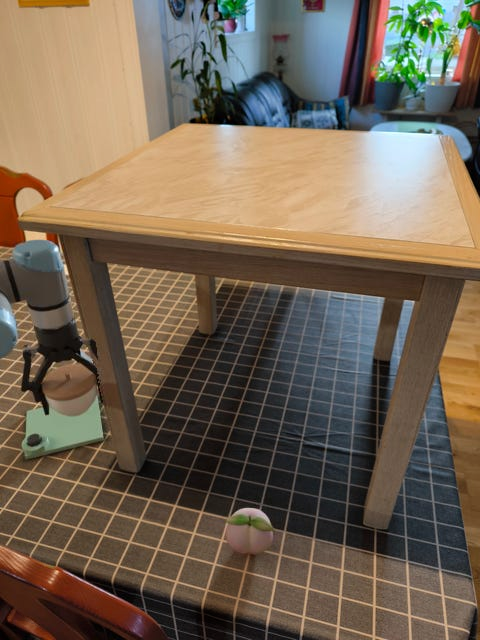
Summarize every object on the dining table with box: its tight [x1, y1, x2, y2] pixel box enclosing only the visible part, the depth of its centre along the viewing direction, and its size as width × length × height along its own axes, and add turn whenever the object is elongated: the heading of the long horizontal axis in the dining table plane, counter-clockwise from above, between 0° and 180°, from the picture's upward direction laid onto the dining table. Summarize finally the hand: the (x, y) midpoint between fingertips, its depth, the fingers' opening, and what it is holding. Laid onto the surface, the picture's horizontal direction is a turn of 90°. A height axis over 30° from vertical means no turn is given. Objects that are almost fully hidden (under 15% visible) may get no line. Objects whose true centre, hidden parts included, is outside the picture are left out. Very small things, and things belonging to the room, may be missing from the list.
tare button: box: [27, 434, 41, 447], centre depth 106 cm, size 3×3×2 cm
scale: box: [21, 395, 105, 460], centre depth 113 cm, size 18×16×4 cm
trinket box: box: [41, 363, 98, 417], centre depth 94 cm, size 11×11×9 cm
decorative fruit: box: [224, 507, 275, 556], centre depth 86 cm, size 9×8×10 cm
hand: (75, 405), depth 96 cm, fingers closed on trinket box, 11 cm apart
